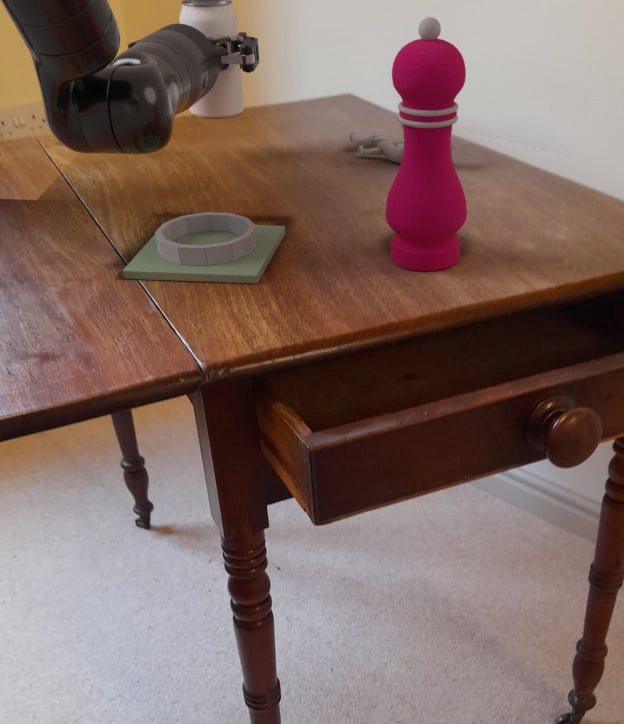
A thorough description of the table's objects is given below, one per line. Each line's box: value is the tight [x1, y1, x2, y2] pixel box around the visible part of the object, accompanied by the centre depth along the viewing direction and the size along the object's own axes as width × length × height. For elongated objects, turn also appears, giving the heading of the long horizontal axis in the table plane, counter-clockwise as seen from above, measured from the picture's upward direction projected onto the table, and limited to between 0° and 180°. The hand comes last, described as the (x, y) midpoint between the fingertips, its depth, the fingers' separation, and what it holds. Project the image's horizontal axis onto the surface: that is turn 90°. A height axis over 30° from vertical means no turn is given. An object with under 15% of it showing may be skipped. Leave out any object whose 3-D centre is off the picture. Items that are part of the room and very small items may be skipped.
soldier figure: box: [349, 112, 455, 164], centre depth 103 cm, size 8×5×12 cm
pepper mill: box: [384, 16, 468, 272], centre depth 74 cm, size 7×7×20 cm
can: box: [178, 0, 245, 120], centre depth 101 cm, size 6×6×12 cm
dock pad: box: [122, 211, 286, 285], centre depth 80 cm, size 12×12×2 cm
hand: (215, 41), depth 102 cm, fingers closed on can, 6 cm apart
